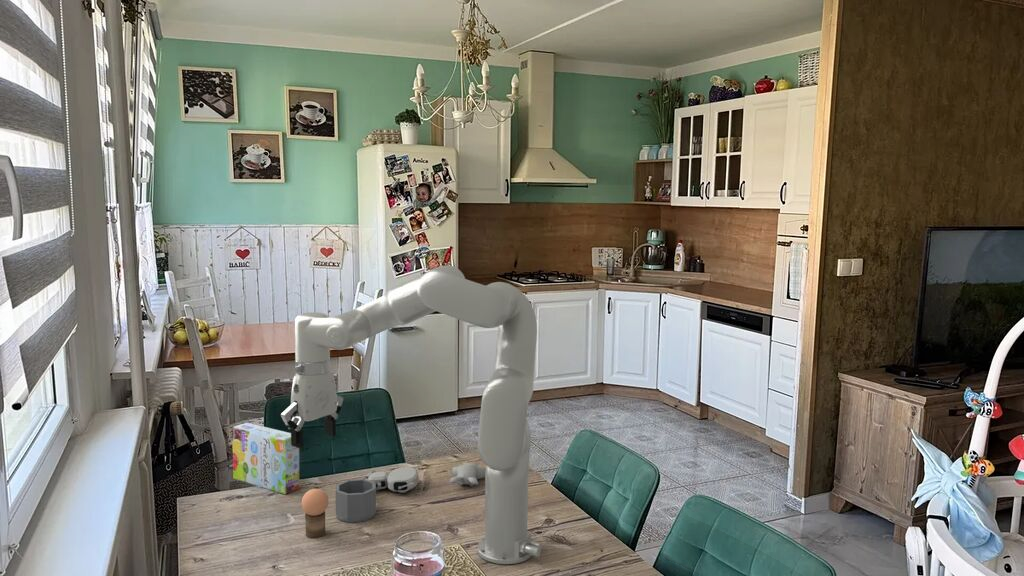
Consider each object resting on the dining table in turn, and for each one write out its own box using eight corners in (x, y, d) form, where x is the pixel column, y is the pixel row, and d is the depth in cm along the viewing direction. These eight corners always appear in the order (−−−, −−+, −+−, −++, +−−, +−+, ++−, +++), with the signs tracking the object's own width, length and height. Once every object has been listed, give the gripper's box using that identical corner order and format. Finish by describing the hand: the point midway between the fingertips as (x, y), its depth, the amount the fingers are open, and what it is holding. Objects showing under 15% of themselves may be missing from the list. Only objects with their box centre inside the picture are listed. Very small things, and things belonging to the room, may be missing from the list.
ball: (334, 513, 165) (333, 488, 165) (314, 522, 160) (313, 497, 160) (316, 507, 169) (315, 482, 168) (296, 516, 163) (295, 491, 163)
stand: (329, 532, 166) (329, 512, 165) (314, 539, 162) (314, 518, 161) (316, 527, 168) (316, 507, 167) (301, 534, 164) (301, 514, 164)
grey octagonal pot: (383, 511, 177) (383, 484, 176) (356, 526, 169) (355, 497, 168) (356, 502, 182) (355, 476, 182) (327, 516, 174) (327, 488, 174)
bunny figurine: (488, 460, 203) (481, 473, 188) (487, 478, 203) (480, 492, 188) (455, 458, 204) (445, 471, 189) (454, 476, 204) (445, 491, 189)
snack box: (301, 488, 191) (300, 434, 189) (285, 495, 186) (283, 440, 185) (248, 472, 202) (246, 421, 200) (231, 479, 197) (229, 426, 195)
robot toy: (359, 500, 186) (416, 497, 186) (357, 484, 186) (415, 480, 186) (367, 482, 198) (421, 479, 198) (366, 467, 198) (420, 463, 198)
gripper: (293, 377, 151) (294, 455, 153) (352, 363, 166) (353, 434, 168) (270, 372, 155) (272, 448, 157) (330, 358, 170) (330, 428, 172)
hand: (313, 440), depth 162 cm, fingers open, 9 cm apart
